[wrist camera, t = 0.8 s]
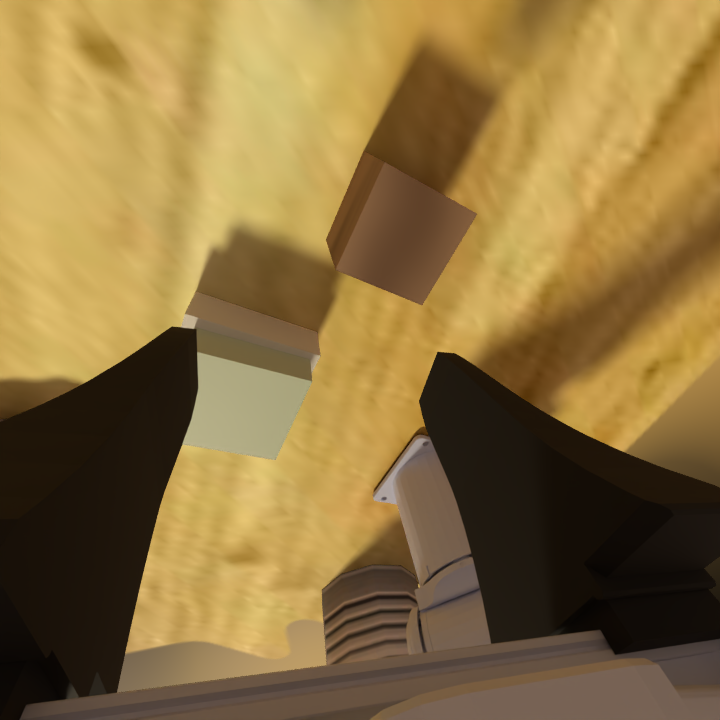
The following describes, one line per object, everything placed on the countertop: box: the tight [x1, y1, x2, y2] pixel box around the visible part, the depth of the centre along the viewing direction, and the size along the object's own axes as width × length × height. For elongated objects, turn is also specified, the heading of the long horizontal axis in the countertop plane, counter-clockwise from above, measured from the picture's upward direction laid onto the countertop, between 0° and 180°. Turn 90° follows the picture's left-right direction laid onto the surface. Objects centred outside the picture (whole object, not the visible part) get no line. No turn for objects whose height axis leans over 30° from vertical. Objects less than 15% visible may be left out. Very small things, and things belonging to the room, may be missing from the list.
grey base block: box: [181, 292, 320, 374], centre depth 22 cm, size 7×7×3 cm
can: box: [322, 565, 418, 665], centre depth 37 cm, size 11×11×12 cm
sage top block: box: [183, 327, 312, 460], centre depth 20 cm, size 6×6×2 cm
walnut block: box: [326, 151, 477, 305], centre depth 17 cm, size 4×4×4 cm
